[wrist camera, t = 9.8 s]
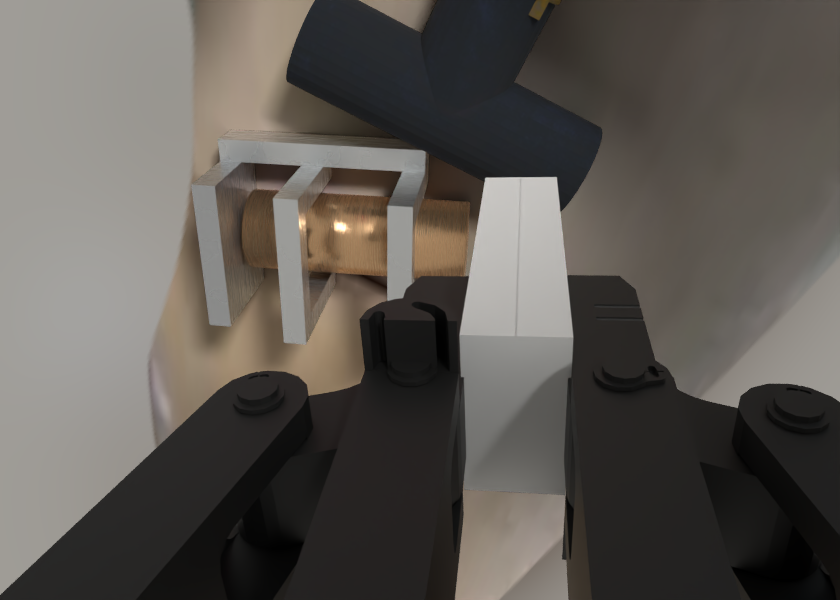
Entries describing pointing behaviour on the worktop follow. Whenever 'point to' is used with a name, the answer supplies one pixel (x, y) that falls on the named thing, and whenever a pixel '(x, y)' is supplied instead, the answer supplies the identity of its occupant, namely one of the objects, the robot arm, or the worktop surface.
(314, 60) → the pipe connector
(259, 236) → the tube
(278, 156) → the grey slatted rack
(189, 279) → the worktop surface
